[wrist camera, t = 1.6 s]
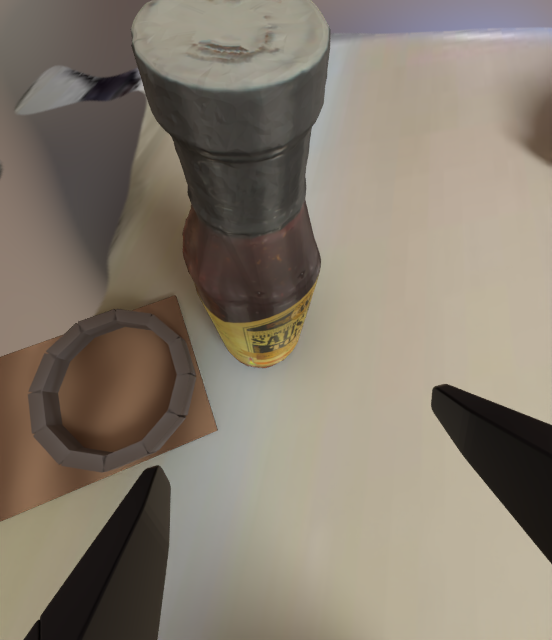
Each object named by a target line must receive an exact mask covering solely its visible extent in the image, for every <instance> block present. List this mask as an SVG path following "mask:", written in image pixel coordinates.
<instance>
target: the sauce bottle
mask: <svg viewBox="0 0 552 640" xmlns="http://www.w3.org/2000/svg"><path fill="white" fill-rule="evenodd" d="M131 33H132V49H133V53H134V56H135V59H136V63H137V66H138V69H139V72H140V75H141V79H142V82H143V86H144V90H145V93H146V97H147V100H148V103H149V106H150V108H151V111H152V113H153V115H154V117H155V119H156V120H157V122H158V123H159V124H160V125H161V126H162V128H163V129H164V130H165V131H166V132H168V133H169V134H170V135H171V137H172V139H173V141H174V145H175V150H176V152H177V154H178V157H179V159H180V162H181V165H182V168H183V172H184V175H185V178H186V181H187V184H188V196H189V198H190V201H191V204H192V205H191V210H190V212H189V215H188V218H187V219H186V222H185V226H184V229H183V256H184V260H185V263H186V265H187V268H188V272H189V274H190V275H191V277H192V279H193V281H194V283H195V287H196V290H197V293H198V295H199V297H200V299H201V301H202V303H203V305H204V307H205V309H206V310H207V312H208V314H209V316H210V318H211V319H212V321H213V323H214V325H215V327H216V329H217V331H218V333H219V335H220V336H221V338H222V340H223V342H224V344H225V346H226V347H227V349H228V351H229V352H230V353H231V354H232V355H233V356H234V357H235V358H236V359H237V360H238V361H239V362H241V363H243V364H245V365H247V366H251V367H258V368H267V367H270V366H273V365H275V364H277V363H279V362H280V361H283V360H284V359H285V358H286V357H287V356H288V355H289V354H290V353H291V352H292V351H293V349H294V348H295V346H296V344H297V342H298V339H299V336H300V333H301V330H302V327H303V323H304V320H305V318H306V314H307V311H308V308H309V305H310V301H311V298H312V295H313V292H314V289H315V286H316V283H317V279H318V276H319V272H320V267H321V258H320V253H319V250H318V247H317V244H316V241H315V239H314V235H313V231H312V227H311V223H310V218H309V214H308V209H307V205H306V201H305V195H306V178H305V173H306V164H307V159H308V154H309V142H310V136H311V129H312V126H313V125H314V124H315V122H316V120H317V118H318V116H319V114H320V111H321V109H322V106H323V104H324V93H325V84H326V79H327V67H328V60H329V52H330V28H329V26H328V24H327V23H326V21H325V19H324V17H323V15H322V13H321V12H320V10H319V9H318V8H317V7H316V5H315V4H314V3H313V2H312V1H311V0H152V1H150V2H148V3H146V4H145V5H144V6H143V8H142V9H141V10H140V11H139V12H138V14H137V16H136V17H135V19H134V22H133V24H132V28H131Z"/></svg>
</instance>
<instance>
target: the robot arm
mask: <svg viewBox="0 0 552 640" xmlns="http://www.w3.org/2000/svg"><path fill="white" fill-rule="evenodd" d="M431 407H432V410H433V412H434V414H435V415H436V417H437V418H438V420H439V421H440V423H441V424H442V426H443V427H444V429H445V430H446V432H447V433H448V435H449V436H450V437H451V439H452V440H453V442H454V443H455V445H456V446H457V448H458V449H459V451H460V452H461V453H462V455H463V456H464V457H465V459H466V460H467V461H468V462H469V464H470V465H471V466H472V467H473V469H474V470H475V471H476V472H477V473H478V475H479V476H480V477H481V478H482V479H483V481H484V482H485V483H486V484H487V486H488V487H489V488H490V489H491V490H492V492H493V493H494V494H495V495H496V497H497V498H498V499H499V500H500V501H501V503H502V504H503V505H504V506H505V508H506V509H507V510H508V511H509V512H510V514H511V515H512V516H513V517H514V519H515V520H516V521H517V522H518V523H519V525H520V526H521V527H522V528H523V530H524V531H525V532H526V533H527V534H528V536H529V537H530V538H531V539H532V540H533V542H534V543H535V544H536V545H537V547H538V548H539V549H540V550H541V551H542V553H543V554H544V555H545V556H546V558H547V559H548V560H549V561H550V562H551V564H552V425H550V424H548V423H545V422H543V421H540V420H538V419H535V418H532V417H530V416H527V415H525V414H522V413H520V412H517V411H515V410H512V409H509V408H507V407H504V406H502V405H499V404H497V403H494V402H492V401H489V400H486V399H484V398H481V397H479V396H476V395H474V394H471V393H469V392H466V391H464V390H461V389H458V388H456V387H453V386H451V385H448V384H442V385H438V386H435V387H434V388H433V390H432V400H431ZM170 496H171V487H170V482H169V480H168V478H167V476H166V475H165V473H164V471H163V469H162V468H161V466H159V465H158V466H154V467H150V468H147V469H145V470H144V471H143V473H142V474H141V475H140V477H139V478H138V480H137V481H136V482H135V484H134V485H133V487H132V488H131V489H130V491H129V492H128V494H127V495H126V496H125V498H124V499H123V501H122V502H121V504H120V505H119V506H118V508H117V509H116V511H115V512H114V513H113V515H112V516H111V518H110V519H109V520H108V522H107V523H106V525H105V526H104V527H103V529H102V530H101V532H100V533H99V534H98V536H97V537H96V539H95V540H94V541H93V543H92V544H91V546H90V547H89V549H88V550H87V551H86V553H85V554H84V556H83V557H82V558H81V560H80V561H79V563H78V564H77V565H76V567H75V568H74V570H73V571H72V572H71V574H70V575H69V577H68V578H67V579H66V581H65V582H64V584H63V585H62V586H61V588H60V589H59V591H58V592H57V593H56V595H55V596H54V598H53V599H52V601H51V602H50V603H49V605H48V606H47V608H46V609H45V610H44V612H43V613H42V615H41V616H40V620H38V621H36V623H35V624H34V626H33V627H32V628H31V630H30V631H29V633H28V634H27V635H26V637H25V638H24V640H157V639H158V631H159V623H160V615H161V607H162V599H163V591H164V583H165V575H166V567H167V559H168V550H169V534H170Z"/></svg>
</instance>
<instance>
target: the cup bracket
mask: <svg viewBox="0 0 552 640" xmlns="http://www.w3.org/2000/svg"><path fill="white" fill-rule="evenodd" d="M217 430H218V429H217V426H216V423H215V420H214V416H213V413H212V410H211V407H210V403H209V400H208V397H207V394H206V391H205V387H204V384H203V381H202V378H201V374H200V371H199V368H198V365H197V362H196V358H195V355H194V352H193V349H192V345H191V342H190V339H189V336H188V332H187V329H186V326H185V323H184V320H183V316H182V313H181V310H180V307H179V303H178V300H177V297H176V296H172V297H169V298H166V299H163V300H160V301H158V302H155V303H152V304H149V305H146V306H143V307H141V308H138V309H135V310H132V311H129V310H122V309H116V310H115V309H113V310H110V311H107V312H105V313H102V314H99V315H96V316H93V317H90V318H87V319H85V320H82V321H79V322H78V324H77V323H75V324H74V325H73V326H72V327H71V328H70V329H69V330H68V331H67V332H66V333H65V334H64V335H61V336H58V337H55V338H52V339H50V340H47V341H44V342H41V343H39V344H36V345H33V346H30V347H27V348H24V349H21V350H18V351H16V352H13V353H10V354H7V355H4V356H2V357H0V521H3V520H5V519H8V518H10V517H12V516H15V515H17V514H20V513H22V512H24V511H27V510H29V509H31V508H34V507H36V506H39V505H41V504H43V503H46V502H48V501H50V500H53V499H55V498H58V497H60V496H62V495H65V494H67V493H70V492H72V491H74V490H77V489H79V488H81V487H84V486H86V485H89V484H91V483H93V482H96V481H98V480H100V479H103V478H105V477H108V476H110V475H112V474H115V473H117V472H120V471H122V470H124V469H127V468H129V467H131V466H134V465H136V464H139V463H141V462H143V461H146V460H148V459H150V458H153V457H155V456H158V455H160V454H162V453H165V452H167V451H170V450H172V449H174V448H177V447H179V446H181V445H184V444H186V443H189V442H191V441H193V440H196V439H198V438H201V437H203V436H205V435H208V434H210V433H212V432H215V431H217Z"/></svg>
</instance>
